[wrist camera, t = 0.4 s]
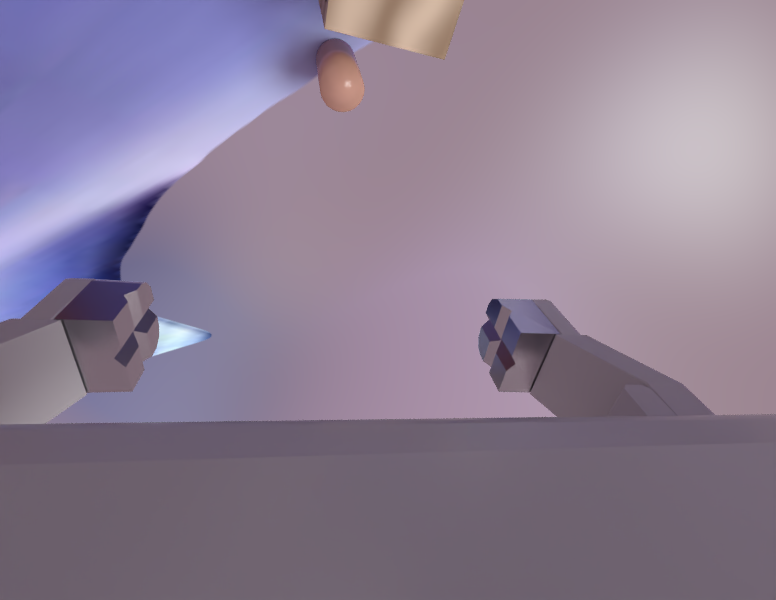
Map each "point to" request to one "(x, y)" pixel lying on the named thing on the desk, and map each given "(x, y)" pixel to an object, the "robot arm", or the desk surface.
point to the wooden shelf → (396, 22)
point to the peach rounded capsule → (339, 76)
